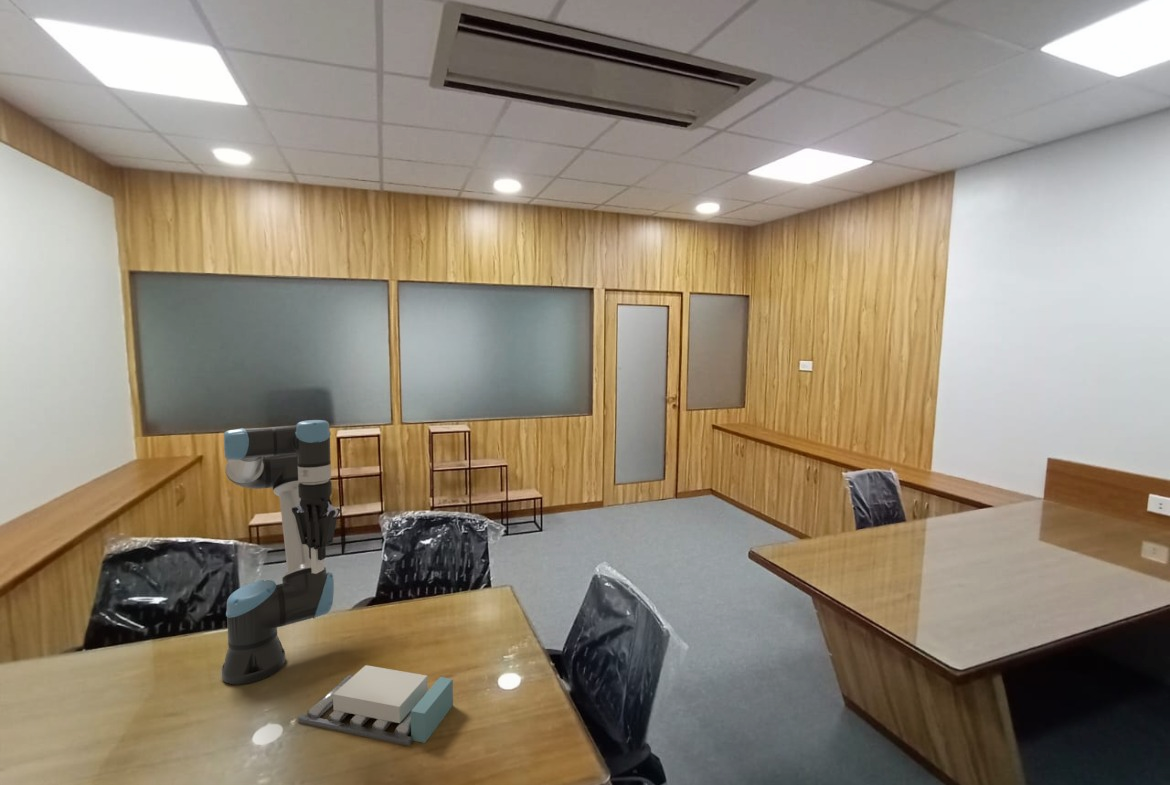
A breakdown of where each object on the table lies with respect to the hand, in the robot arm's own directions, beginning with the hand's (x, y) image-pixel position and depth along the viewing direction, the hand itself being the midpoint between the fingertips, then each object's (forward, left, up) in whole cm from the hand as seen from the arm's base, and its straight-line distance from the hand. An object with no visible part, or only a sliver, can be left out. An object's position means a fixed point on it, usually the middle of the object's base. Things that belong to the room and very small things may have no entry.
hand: (317, 571), depth 133 cm
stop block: (+34, -3, -32) cm, 47 cm away
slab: (+20, -3, -29) cm, 36 cm away
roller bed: (+18, -3, -32) cm, 37 cm away
